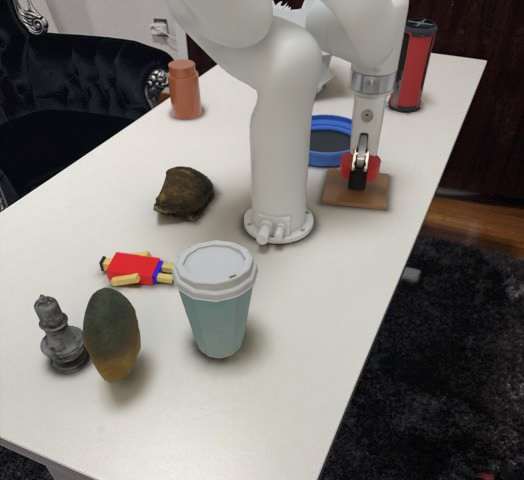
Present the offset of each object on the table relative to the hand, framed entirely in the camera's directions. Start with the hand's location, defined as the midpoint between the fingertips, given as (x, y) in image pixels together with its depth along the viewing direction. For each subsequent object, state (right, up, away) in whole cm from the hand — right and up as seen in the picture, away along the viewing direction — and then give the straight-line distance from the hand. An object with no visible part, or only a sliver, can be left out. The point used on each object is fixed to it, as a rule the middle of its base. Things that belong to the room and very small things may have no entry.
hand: (357, 177), depth 95 cm
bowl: (-5, +11, +14) cm, 18 cm away
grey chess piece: (-45, -35, -26) cm, 62 cm away
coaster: (0, -2, +2) cm, 3 cm away
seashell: (-33, -6, -1) cm, 33 cm away
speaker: (+17, +27, +27) cm, 42 cm away
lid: (0, +2, -2) cm, 3 cm away
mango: (-37, -37, -29) cm, 60 cm away
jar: (-37, +25, +26) cm, 51 cm away
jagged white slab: (-9, +34, +34) cm, 49 cm away
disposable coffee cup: (-24, -32, -24) cm, 47 cm away
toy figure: (-39, -21, -14) cm, 46 cm away
